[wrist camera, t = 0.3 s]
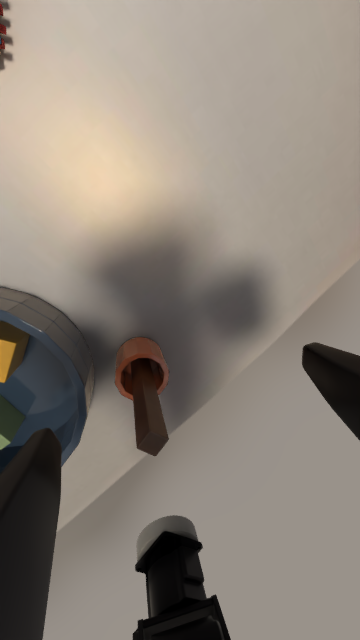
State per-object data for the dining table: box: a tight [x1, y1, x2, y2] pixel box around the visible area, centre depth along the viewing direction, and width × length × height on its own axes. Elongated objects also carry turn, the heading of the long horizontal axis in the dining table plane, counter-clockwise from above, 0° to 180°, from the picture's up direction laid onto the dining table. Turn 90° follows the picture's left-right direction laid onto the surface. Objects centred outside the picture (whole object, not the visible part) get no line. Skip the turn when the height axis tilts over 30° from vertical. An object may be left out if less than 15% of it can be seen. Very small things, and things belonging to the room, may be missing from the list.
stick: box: [131, 358, 169, 456], centre depth 17 cm, size 1×1×10 cm
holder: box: [115, 337, 169, 401], centre depth 21 cm, size 4×4×4 cm
